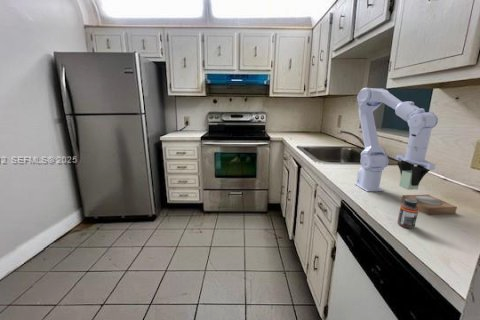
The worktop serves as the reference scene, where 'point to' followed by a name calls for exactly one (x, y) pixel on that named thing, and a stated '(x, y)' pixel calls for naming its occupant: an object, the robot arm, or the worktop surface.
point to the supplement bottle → (408, 213)
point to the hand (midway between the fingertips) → (409, 183)
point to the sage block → (407, 181)
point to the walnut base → (431, 204)
